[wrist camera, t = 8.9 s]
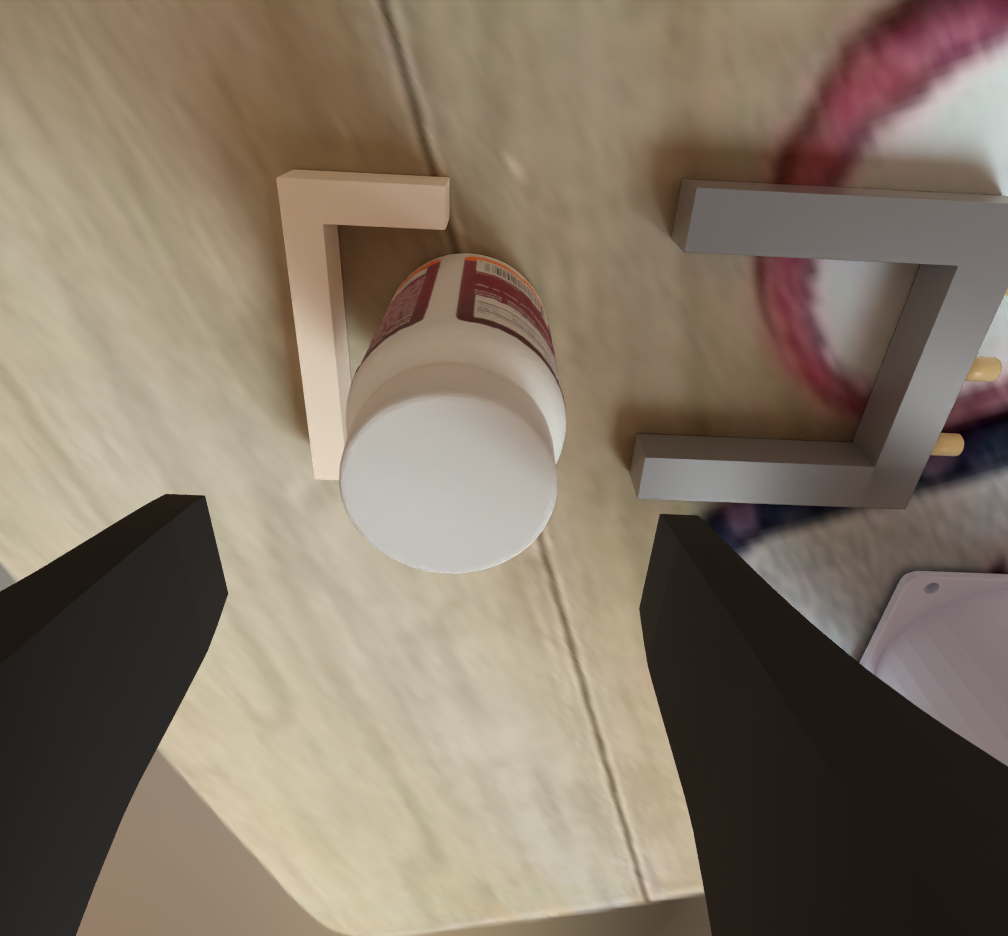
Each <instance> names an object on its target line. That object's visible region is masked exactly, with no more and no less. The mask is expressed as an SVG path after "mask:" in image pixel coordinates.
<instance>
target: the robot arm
mask: <svg viewBox="0 0 1008 936" xmlns="http://www.w3.org/2000/svg"><path fill="white" fill-rule="evenodd" d="M930 583H931V584H930ZM227 595H228V591H227V586H226V582H225V578H224V574H223V569H222V565H221V561H220V557H219V553H218V548H217V544H216V540H215V536H214V532H213V527H212V523H211V519H210V515H209V511H208V506H207V502H206V498H205V496H202V495H177V494H165V495H163V496H161V497H159V498H157V499H155V500H154V501H152V502H150V503H148V504H146V505H145V506H143V507H141V508H139V509H138V510H136V511H134V512H133V513H131V514H129V515H128V516H126V517H124V518H123V519H121V520H119V521H118V522H116V523H115V524H113V525H111V526H110V527H108V528H106V529H105V530H103V531H102V532H100V533H98V534H97V535H95V536H93V537H92V538H90V539H89V540H87V541H85V542H84V543H82V544H80V545H79V546H77V547H75V548H74V549H72V550H71V551H69V552H67V553H66V554H64V555H62V556H61V557H59V558H57V559H56V560H54V561H52V562H51V563H49V564H48V565H46V566H44V567H43V568H41V569H39V570H38V571H36V572H34V573H32V574H31V575H29V576H27V577H25V578H24V579H22V580H20V581H18V582H17V583H15V584H13V585H11V586H9V587H8V588H6V589H4V590H2V591H1V592H0V936H76V933H77V931H78V928H79V926H80V923H81V920H82V918H83V914H84V912H85V910H86V907H87V904H88V901H89V899H90V896H91V894H92V891H93V889H94V886H95V883H96V881H97V879H98V876H99V874H100V871H101V869H102V866H103V864H104V861H105V859H106V856H107V854H108V851H109V849H110V846H111V844H112V842H113V839H114V837H115V834H116V832H117V829H118V827H119V824H120V822H121V820H122V817H123V815H124V813H125V811H126V809H127V806H128V804H129V802H130V800H131V798H132V796H133V794H134V791H135V790H136V787H137V785H138V783H139V781H140V779H141V778H142V776H143V773H144V772H145V770H146V768H147V766H148V764H149V762H150V760H151V759H152V757H153V755H154V753H155V751H156V749H157V747H158V745H159V743H160V742H161V740H162V738H163V736H164V734H165V732H166V730H167V728H168V726H169V724H170V723H171V721H172V719H173V717H174V715H175V713H176V711H177V709H178V707H179V706H180V704H181V702H182V700H183V698H184V696H185V694H186V692H187V690H188V688H189V686H190V684H191V682H192V681H193V679H194V677H195V675H196V673H197V671H198V669H199V667H200V665H201V663H202V661H203V659H204V657H205V655H206V653H207V651H208V649H209V646H210V643H211V641H212V638H213V635H214V633H215V630H216V627H217V625H218V622H219V619H220V616H221V613H222V610H223V607H224V604H225V601H226V598H227ZM639 610H640V617H641V624H642V631H643V639H644V645H645V651H646V657H647V663H648V668H649V672H650V675H651V679H652V683H653V686H654V690H655V693H656V697H657V701H658V704H659V708H660V711H661V715H662V718H663V722H664V725H665V729H666V732H667V736H668V739H669V743H670V746H671V750H672V753H673V757H674V760H675V764H676V767H677V771H678V774H679V778H680V781H681V785H682V788H683V792H684V795H685V799H686V803H687V807H688V811H689V815H690V819H691V824H692V828H693V832H694V837H695V843H696V848H697V854H698V859H699V865H700V870H701V875H702V881H703V886H704V892H705V897H706V902H707V909H708V915H709V920H710V926H711V932H712V936H1008V574H990V573H963V572H936V571H912V572H909V573H907V574H906V575H904V576H903V577H902V578H901V580H900V581H899V583H898V585H897V587H896V589H895V591H894V593H893V595H892V597H891V599H890V601H889V603H888V605H887V607H886V609H885V611H884V614H883V616H882V618H881V620H880V622H879V624H878V626H877V628H876V630H875V632H874V634H873V636H872V638H871V640H870V642H869V644H868V646H867V648H866V650H865V652H864V654H863V656H862V658H861V660H860V662H857V661H856V660H855V659H853V658H852V657H851V656H850V655H848V654H847V653H846V652H845V651H844V650H842V649H841V648H840V647H839V646H838V645H837V644H835V643H834V642H833V641H832V640H831V639H829V638H828V637H827V636H826V635H825V634H823V633H822V632H821V631H820V630H819V629H818V628H816V627H815V626H814V625H813V624H812V623H810V622H809V621H808V620H807V619H806V618H805V617H804V616H803V615H802V614H800V613H799V612H798V611H797V610H796V609H795V608H794V607H793V606H791V605H790V604H789V603H788V602H787V601H786V600H785V599H784V598H783V597H782V596H781V595H779V594H778V593H777V592H776V591H775V590H774V589H773V588H772V587H771V586H770V585H769V584H768V583H767V582H766V581H765V580H764V579H763V578H762V577H761V576H759V575H758V574H757V573H756V572H755V571H754V570H753V569H752V568H751V567H750V566H749V565H748V564H747V563H746V562H745V561H744V560H743V559H742V558H741V557H740V556H739V555H738V554H737V553H736V552H735V551H734V550H733V549H732V548H731V547H730V546H729V545H728V544H727V543H726V542H725V541H724V540H723V539H722V538H721V537H720V536H719V535H718V534H717V533H716V532H715V531H714V530H713V529H712V528H711V527H710V526H709V525H707V524H706V523H705V522H704V521H703V520H702V519H701V518H700V517H699V516H696V515H671V514H660V516H659V520H658V525H657V530H656V534H655V539H654V543H653V548H652V553H651V557H650V562H649V566H648V571H647V576H646V580H645V585H644V589H643V594H642V599H641V603H640V608H639Z"/></svg>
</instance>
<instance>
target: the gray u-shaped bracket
mask: <svg viewBox="0 0 1008 936" xmlns="http://www.w3.org/2000/svg"><path fill="white" fill-rule="evenodd" d="M671 239H672V240H673V241H674V242H675V243H676V244H677V245H678V246H679V247H680V248H681V249H682V250H683V251H684V252H689V253H709V254H730V255H750V256H770V257H791V258H811V259H831V260H852V261H872V262H893V263H913V264H920V267H919V269H918V272H917V275H916V277H915V280H914V283H913V285H912V288H911V290H910V293H909V296H908V298H907V301H906V303H905V306H904V309H903V311H902V314H901V316H900V319H899V322H898V324H897V327H896V330H895V332H894V335H893V337H892V340H891V343H890V345H889V348H888V350H887V353H886V356H885V358H884V361H883V364H882V366H881V369H880V371H879V374H878V377H877V379H876V382H875V384H874V387H873V390H872V392H871V395H870V397H869V400H868V403H867V405H866V408H865V411H864V413H863V416H862V418H861V421H860V424H859V426H858V429H857V431H856V434H855V437H854V439H853V442H852V443H849V442H825V441H802V440H778V439H754V438H730V437H706V436H683V435H659V434H637V435H636V440H635V446H634V452H633V457H632V463H631V468H630V476H631V479H632V482H633V485H634V489H635V492H636V495H637V498H638V499H656V500H682V501H707V502H732V503H758V504H783V505H808V506H834V507H859V508H884V509H906V507H907V504H908V502H909V500H910V498H911V496H912V494H913V491H914V489H915V487H916V485H917V483H918V481H919V478H920V476H921V474H922V472H923V470H924V468H925V465H926V463H927V461H928V459H929V457H930V455H938V456H958V455H960V454H961V452H962V451H963V448H964V440H963V437H962V436H961V435H960V434H955V433H941V431H942V429H943V426H944V424H945V422H946V420H947V418H948V416H949V413H950V411H951V409H952V407H953V405H954V403H955V400H956V398H957V396H958V394H959V392H960V390H961V387H962V385H963V383H964V381H982V382H992V381H995V380H996V379H997V378H998V377H999V375H1000V373H1001V369H1002V365H1001V362H1000V360H999V359H998V358H995V357H976V355H977V353H978V351H979V348H980V346H981V344H982V342H983V340H984V338H985V335H986V333H987V331H988V329H989V327H990V325H991V322H992V320H993V318H994V316H995V314H996V312H997V309H998V307H999V305H1000V303H1001V301H1002V299H1003V296H1004V295H1008V196H1002V195H983V194H964V193H945V192H925V191H906V190H887V189H868V188H848V187H829V186H810V185H791V184H771V183H752V182H733V181H714V180H695V179H682V182H681V188H680V193H679V199H678V204H677V210H676V216H675V221H674V227H673V232H672V238H671Z"/></svg>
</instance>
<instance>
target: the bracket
mask: <svg viewBox="0 0 1008 936" xmlns="http://www.w3.org/2000/svg"><path fill="white" fill-rule="evenodd" d="M276 181H277V189H278V197H279V205H280V212H281V220H282V228H283V236H284V244H285V251H286V259H287V267H288V275H289V283H290V290H291V298H292V306H293V314H294V321H295V329H296V337H297V345H298V353H299V360H300V368H301V376H302V384H303V392H304V399H305V407H306V415H307V423H308V431H309V438H310V446H311V454H312V462H313V469H314V477H315V479H322V480H339V470H340V462H341V458H342V454H343V451H344V447H345V445H346V442H347V439H348V436H347V430H346V406H347V399H348V395H349V390H350V387H351V378H350V366H349V355H348V343H347V331H346V319H345V308H344V296H343V284H342V272H341V261H340V249H339V237H338V225H354V226H374V227H395V228H415V229H435V230H445V229H446V226H447V224H448V221H449V218H450V177H432V176H413V175H394V174H374V173H355V172H336V171H316V170H297V169H293V170H291V171H289V172H287V173H285V174H283V175H280V176H278V177H276Z"/></svg>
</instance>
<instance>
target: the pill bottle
mask: <svg viewBox="0 0 1008 936" xmlns="http://www.w3.org/2000/svg"><path fill="white" fill-rule="evenodd" d="M346 430H347V436H348V439H347V442H346V445H345V447H344V451H343V454H342V458H341V462H340V470H339V485H340V492H341V498H342V501H343V504H344V507H345V510H346V512H347V514H348V516H349V518H350V520H351V521H352V523H353V524H354V526H355V527H356V528H357V530H358V531H359V532H360V534H361V535H362V536H363V537H364V538H365V539H366V540H367V541H368V542H369V543H370V544H371V545H372V546H374V547H375V548H376V549H378V550H379V551H380V552H382V553H383V554H385V555H386V556H388V557H390V558H392V559H394V560H396V561H398V562H400V563H402V564H405V565H407V566H410V567H413V568H416V569H420V570H424V571H429V572H437V573H448V574H452V573H466V572H474V571H480V570H483V569H487V568H490V567H493V566H496V565H499V564H501V563H503V562H505V561H507V560H509V559H511V558H513V557H514V556H516V555H518V554H519V553H521V552H522V551H523V550H524V549H526V548H527V547H528V546H529V545H530V544H531V543H532V542H533V541H534V540H535V539H536V538H537V537H538V536H539V534H540V533H541V532H542V530H543V529H544V527H545V526H546V524H547V522H548V520H549V518H550V516H551V514H552V511H553V508H554V505H555V500H556V495H557V470H556V464H557V461H558V459H559V457H560V454H561V451H562V447H563V443H564V438H565V434H566V407H565V402H564V396H563V394H562V390H561V386H560V381H559V376H558V371H557V366H556V361H555V354H554V348H553V345H552V339H551V334H550V330H549V326H548V321H547V316H546V312H545V309H544V307H543V304H542V302H541V300H540V298H539V296H538V294H537V293H536V291H535V289H534V288H533V287H532V285H531V284H530V283H529V282H528V281H527V280H526V279H525V278H524V277H523V276H522V275H521V274H520V273H519V272H518V271H517V270H515V269H514V268H513V267H511V266H509V265H508V264H506V263H504V262H502V261H500V260H498V259H495V258H492V257H488V256H484V255H480V254H470V253H460V254H449V255H445V256H442V257H438V258H436V259H434V260H431V261H429V262H427V263H425V264H424V265H422V266H420V267H419V268H417V269H416V270H415V271H413V272H412V273H411V274H410V275H409V276H408V277H407V278H406V279H405V280H404V281H403V283H402V284H401V285H400V286H399V288H398V289H397V291H396V293H395V294H394V296H393V298H392V300H391V302H390V304H389V306H388V308H387V310H386V313H385V315H384V317H383V319H382V321H381V323H380V325H379V327H378V330H377V332H376V334H375V336H374V338H373V340H372V342H371V343H370V346H369V349H368V351H367V353H366V355H365V357H364V359H363V361H362V362H361V365H360V366H359V367H358V369H357V370H356V373H355V376H354V379H353V381H352V384H351V387H350V390H349V395H348V399H347V406H346Z"/></svg>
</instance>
